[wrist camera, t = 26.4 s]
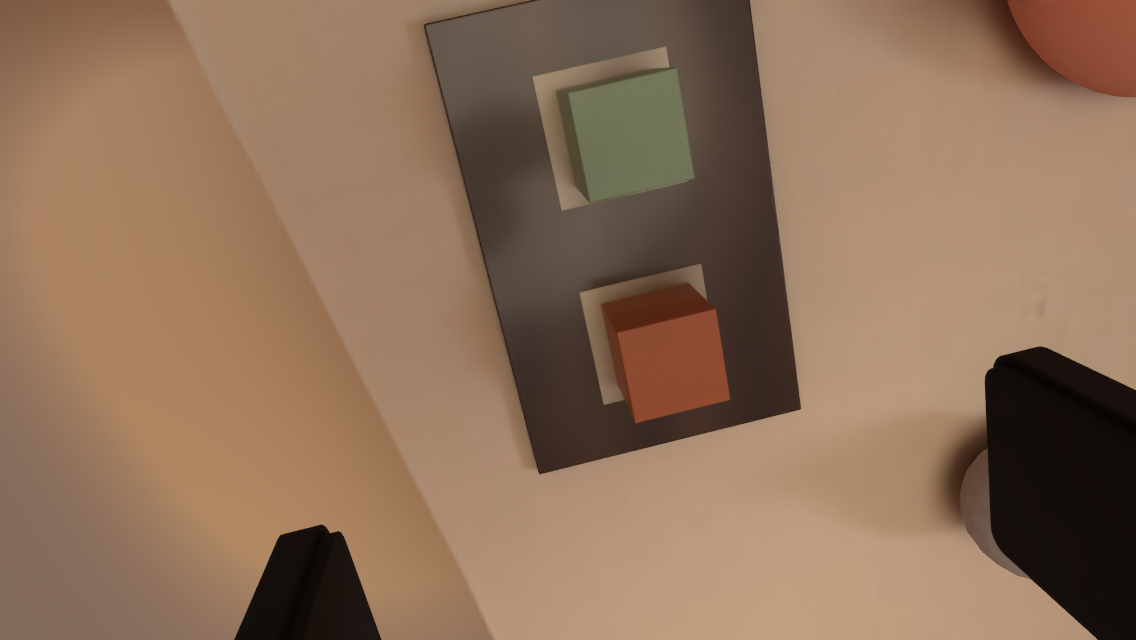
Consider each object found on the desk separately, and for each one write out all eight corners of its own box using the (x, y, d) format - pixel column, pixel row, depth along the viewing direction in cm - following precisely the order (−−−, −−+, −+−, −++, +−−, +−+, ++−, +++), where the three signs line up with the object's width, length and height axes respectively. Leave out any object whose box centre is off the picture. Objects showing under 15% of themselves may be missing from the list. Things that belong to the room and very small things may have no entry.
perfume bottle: (916, 454, 42) (1080, 594, 31) (1077, 370, 42) (1303, 480, 30) (958, 553, 44) (1124, 717, 33) (1110, 474, 44) (1332, 613, 33)
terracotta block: (617, 386, 38) (635, 424, 34) (600, 303, 37) (616, 332, 32) (703, 365, 38) (730, 400, 34) (689, 282, 37) (716, 308, 33)
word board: (538, 469, 40) (539, 475, 39) (424, 25, 33) (423, 24, 32) (796, 405, 40) (802, 410, 40) (739, -46, 33) (744, -48, 33)
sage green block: (576, 188, 35) (589, 203, 31) (555, 90, 33) (566, 92, 29) (669, 167, 35) (695, 179, 31) (652, 68, 34) (677, 66, 29)
